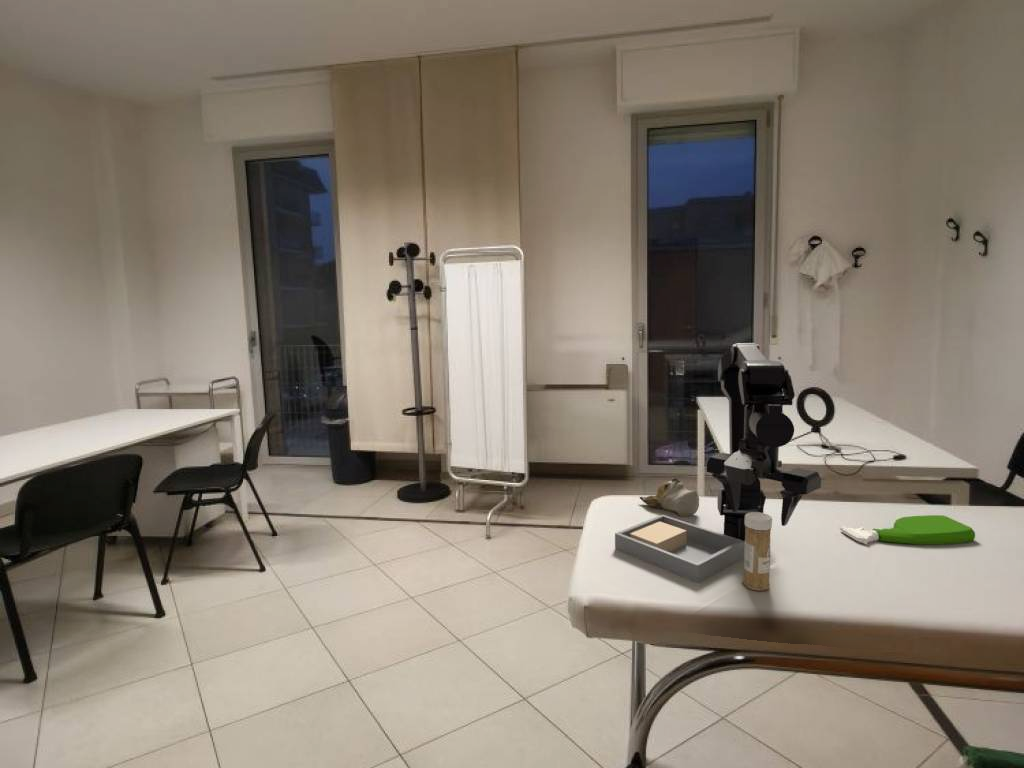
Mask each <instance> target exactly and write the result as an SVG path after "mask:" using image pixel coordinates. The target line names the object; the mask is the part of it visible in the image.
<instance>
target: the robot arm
mask: <svg viewBox="0 0 1024 768" xmlns="http://www.w3.org/2000/svg"><path fill="white" fill-rule="evenodd" d="M717 367H718V368H717V380H718V382H720V386H721V387H720V389H721V391H722V393H723V394H724V395H725V397H726V398H727V401H728V419H729V420H728V421H729V422H728V423H729V424H728V425H729V427H728V428H729V453H726V452H720V453H718V454H717V453H716V454H714V455H711V456H709V457H708V458H707V460H706V462H705V472H706V473H710V474H711V476H712V477H713V478H715V479H717V480H718V481H719V483H721V486H722V487H719V491H718V495H717V497H716V498H717V510H718V513H719V516H722V517H723V516H724V520H723V521H724V522H723V534H724V535H727V536H730V537H733V538H736V539H739V540H742V541H745V524H744V522H745V515H746V514H747V513H750V512H760V513H764V507H765V503H766V500H767V496H766V495H765V493H764V491H763V490H764V489H762V488H761V479H762V480H765V479H767V480H772V481H776V482H780V483H781V486H782V488H783V489H782V490H780V491H779V492H780V495H781V497H782V506H781V513H780V514H781V516H780V520H781V523H780V524H781V526H782V527H785V526H787V525H788V523H789V521H790V518H791V517H792V516H793V513H794V511H795V509H796V507H797V506H798V503H799V502H800V500H802V498H803V496H805V495H808V494H810V493H812V492H814V491H817V490H819V489H821V486H822V478H821V476H820V473H819V472H818V471H816V470H811V469H806V468H800V467H796V468H793V469H791V470H788V471H786V470H782V469H781V470H780V469H779V468H782V467H783V466H782V465H783V461H782V460H779V451H780V450H779V449H780V448H781V447H783V446H785V445H787V444H788V443H789V442H791V440H792V439H793V437H794V434H795V426H794V424H793V421H792V420H791V418H790V417H789V416H788V415H786V414H785V413H784V410H783V406H793V400H794V398H795V396H796V395H795V390H794V384H793V381H792V377H791V374H790V373H789V369H787V368H785V365H784V363H782V362H780V361H777V360H768V359H767V358H766V356H764V353H762V352H761V350H760V345H759V344H758V343H757V344H756V342H741V343H740V342H739V343H738V342H736V343H735V344H732V345H731V348H730V350H729V351H727V352H726V353H724V354H723V355H722V356H720V359H719V362H718V366H717Z"/></svg>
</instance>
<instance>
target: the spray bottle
mask: <svg viewBox="0 0 1024 768" xmlns="http://www.w3.org/2000/svg"><path fill="white" fill-rule="evenodd" d="M839 530H840V531H841V532H842V533H843V534H845V535H846V536H848V537H850V538H852V539H853V540H855V541H857V542H859V543H861V544H864V545H868V543H870V542H871V543H872V542H876V541H877V542H886V543H897V544H907V545H908V544H909V545H910V544H911V545H915V546H916V545H920V546H925V545H926V546H927V545H928V546H933V545H934V546H937V545H938V546H940V545H953V544H954V545H955V544H963V543H969V542H970V543H971V542H973V541H974V540H975V539H976V532H975V531H974V529H973V528H972V527H971V526H968V525H966V524H964V523H962V522H960V521H958V520H956V519H953V518H950V517H948V516H947V515H937V514H936V515H935V514H933V515H931V514H930V515H912V516H903V517H902V516H901V517H899V518H898V519H896V520H895V521H894V524H893V528H892V527H891V528H882V529H879V528H873V529H872V530H864V527H863V526H861V527H858V528H852V527H845V526H843V525H842V526H839Z"/></svg>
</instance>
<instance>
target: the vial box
mask: <svg viewBox="0 0 1024 768" xmlns="http://www.w3.org/2000/svg"><path fill="white" fill-rule="evenodd" d="M630 537H631V538H633V539H636V540H639V541H641V542H644V543H646V544H649V545H652V546H654V547H657V548H659V549H662V550H665V551H667V552H670V551H672V550H675V549H677V548H679V547H681V546H683V545H685V544H686V543H687V531H686V530H684V529H681V528H678V527H675V526H672V525H669V524H666V523H663V522H657V523H655V524H652V525H650V526H647V527H645V528H642V529H640V530H637V531H635V532H633V533H630Z"/></svg>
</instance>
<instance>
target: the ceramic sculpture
mask: <svg viewBox="0 0 1024 768" xmlns="http://www.w3.org/2000/svg"><path fill="white" fill-rule="evenodd" d="M656 491H657V492H656V494H655V495H648V496H639V499H640V500H641V501H642V502H643V503H645V504H646V505H647V506H649V507H651V508H662V509H664V510H667V511H671V512H676V513H677V515H679V517H690V516H694V515H695V514H696V513H697V511H698V510H699V507H700V496H699V494H698V491H697V490H689V489H687V488H686V486H685V484H684V482H683V481H681V480H680V479H678V478H673V479H672V480H669V481H665V482H662V483H661V484H660V485H659V486H658V488H657V490H656Z"/></svg>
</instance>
